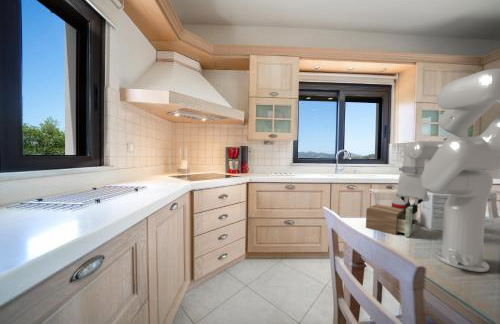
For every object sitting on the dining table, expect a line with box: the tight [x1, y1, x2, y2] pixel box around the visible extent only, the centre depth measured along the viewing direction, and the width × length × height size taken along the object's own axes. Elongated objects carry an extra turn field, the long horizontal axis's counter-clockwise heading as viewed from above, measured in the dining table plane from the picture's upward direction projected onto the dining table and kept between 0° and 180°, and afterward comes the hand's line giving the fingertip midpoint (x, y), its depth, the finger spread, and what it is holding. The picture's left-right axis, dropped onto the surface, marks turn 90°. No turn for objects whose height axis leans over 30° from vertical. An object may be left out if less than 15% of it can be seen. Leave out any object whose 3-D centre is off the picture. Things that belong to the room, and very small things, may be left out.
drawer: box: [397, 203, 419, 238], centre depth 98 cm, size 14×14×12 cm
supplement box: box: [419, 191, 451, 232], centre depth 104 cm, size 10×9×17 cm
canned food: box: [391, 199, 406, 215], centre depth 108 cm, size 8×8×11 cm
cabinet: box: [365, 203, 404, 236], centre depth 102 cm, size 14×12×9 cm
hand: (411, 212), depth 95 cm, fingers closed
